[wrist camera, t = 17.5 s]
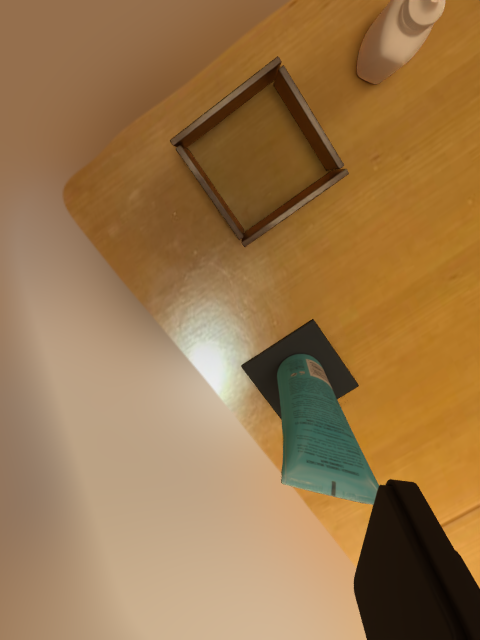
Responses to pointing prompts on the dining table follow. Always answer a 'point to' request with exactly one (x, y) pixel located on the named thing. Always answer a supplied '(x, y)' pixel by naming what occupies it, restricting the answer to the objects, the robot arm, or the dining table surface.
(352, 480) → the tube
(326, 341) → the mat
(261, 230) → the tube holder
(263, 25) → the dining table surface
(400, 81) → the dining table surface
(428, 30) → the eye dropper bottle
